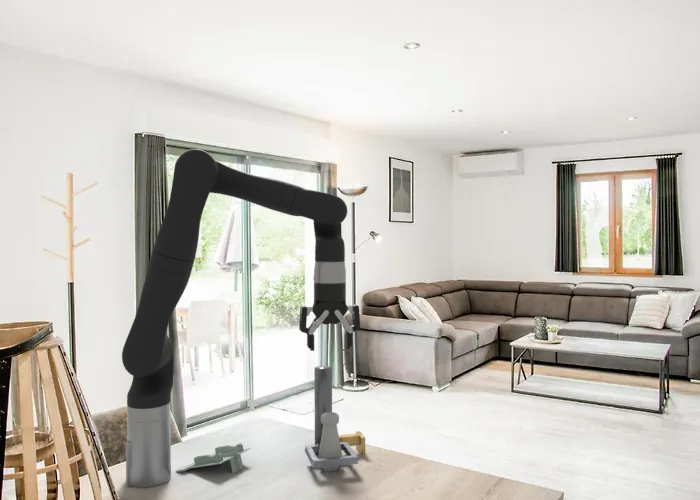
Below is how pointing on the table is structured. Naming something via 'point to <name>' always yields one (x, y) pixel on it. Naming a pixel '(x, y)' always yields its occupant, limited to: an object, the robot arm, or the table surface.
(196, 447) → the table surface
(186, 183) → the robot arm
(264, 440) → the table surface
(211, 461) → the metal bracket
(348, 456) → the square post stand
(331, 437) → the salt shaker
